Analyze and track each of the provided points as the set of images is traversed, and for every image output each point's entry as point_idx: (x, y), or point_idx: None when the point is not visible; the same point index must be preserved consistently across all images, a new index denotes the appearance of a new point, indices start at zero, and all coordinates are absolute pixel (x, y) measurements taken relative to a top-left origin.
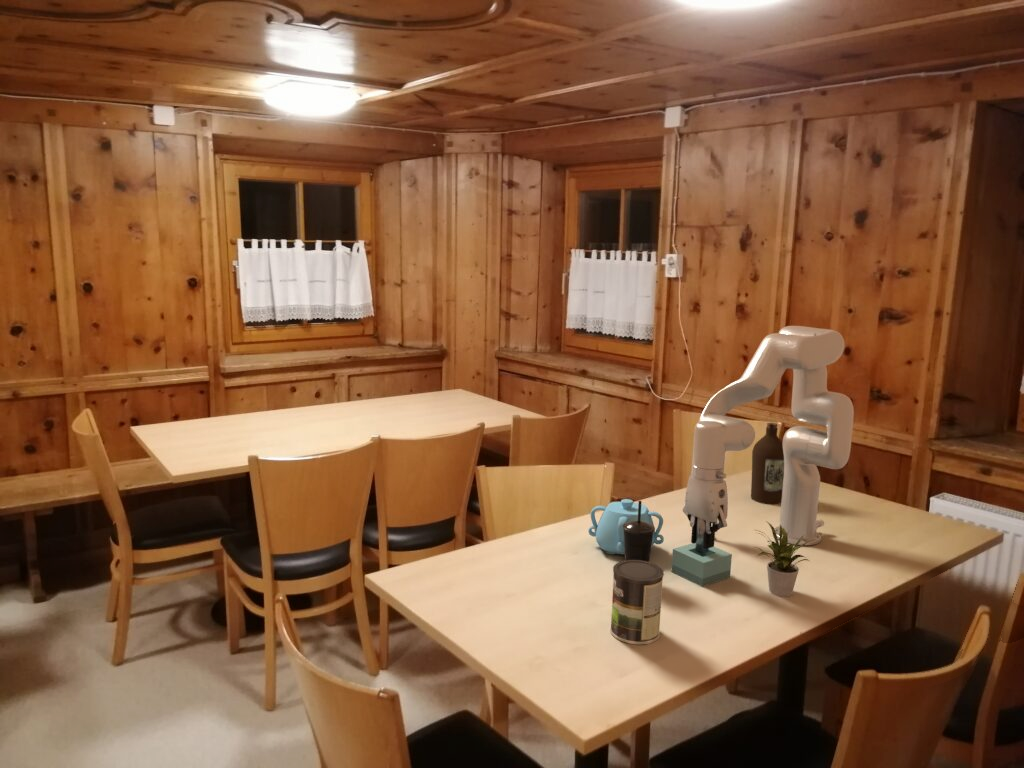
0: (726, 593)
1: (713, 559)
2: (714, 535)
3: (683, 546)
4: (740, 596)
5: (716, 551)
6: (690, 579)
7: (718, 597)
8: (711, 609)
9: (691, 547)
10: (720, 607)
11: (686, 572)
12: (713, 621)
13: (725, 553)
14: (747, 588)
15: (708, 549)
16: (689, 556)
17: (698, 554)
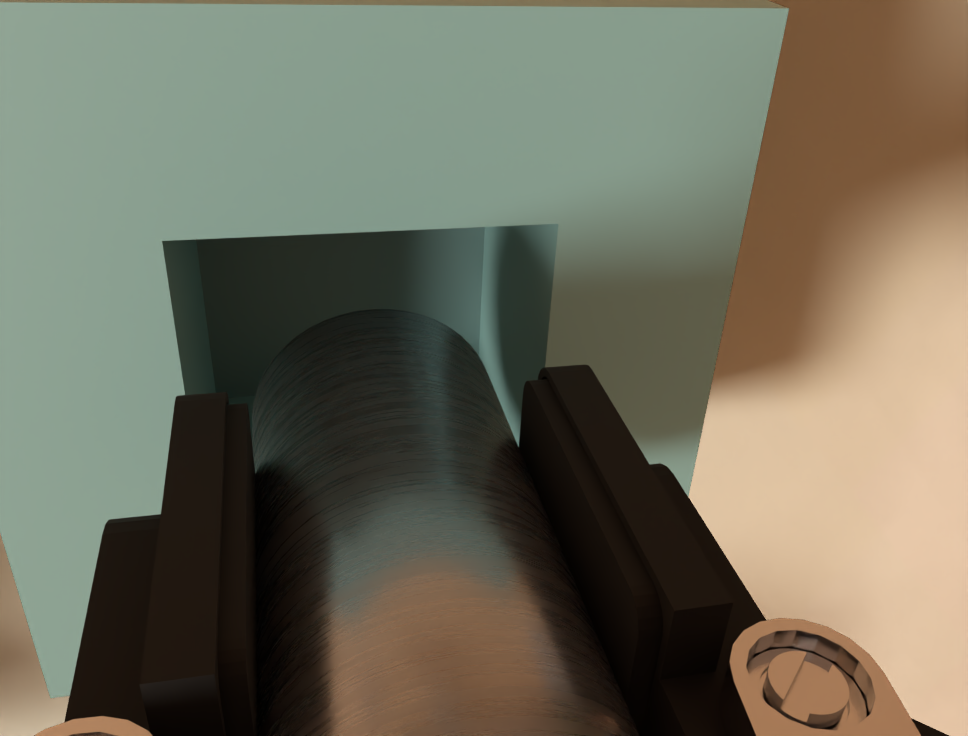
0: (805, 319)
1: (688, 446)
2: (752, 611)
3: (23, 524)
4: (932, 251)
5: (519, 173)
6: None
7: (791, 432)
8: (847, 592)
9: (126, 437)
10: (883, 525)
11: None
12: (930, 665)
13: (684, 92)
14: (918, 26)
15: (492, 387)
16: None
17: (182, 245)
